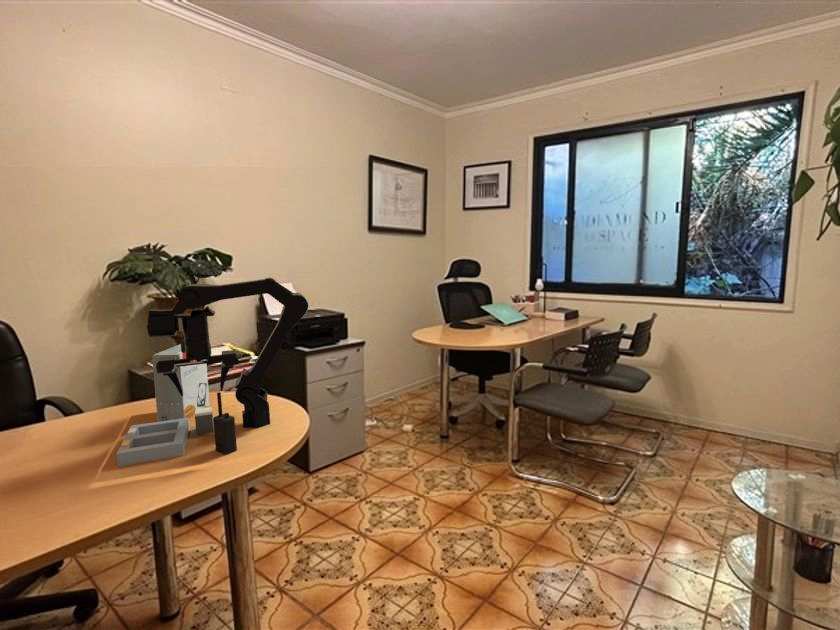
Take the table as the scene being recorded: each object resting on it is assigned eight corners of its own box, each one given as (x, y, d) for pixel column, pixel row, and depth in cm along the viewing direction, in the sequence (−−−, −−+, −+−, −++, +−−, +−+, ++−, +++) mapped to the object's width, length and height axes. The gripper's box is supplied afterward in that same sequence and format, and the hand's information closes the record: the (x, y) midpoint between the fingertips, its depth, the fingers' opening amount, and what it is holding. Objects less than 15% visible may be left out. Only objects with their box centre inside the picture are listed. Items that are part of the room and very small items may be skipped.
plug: (213, 426, 123) (212, 406, 122) (213, 431, 120) (211, 411, 119) (197, 428, 122) (195, 409, 121) (196, 434, 118) (194, 414, 117)
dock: (189, 431, 122) (188, 416, 121) (184, 459, 107) (182, 441, 106) (132, 440, 117) (131, 424, 116) (118, 470, 102) (116, 451, 101)
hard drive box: (184, 425, 126) (178, 355, 123) (157, 425, 126) (149, 355, 123) (210, 405, 142) (205, 342, 139) (186, 405, 142) (180, 342, 139)
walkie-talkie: (238, 453, 109) (233, 393, 107) (225, 459, 106) (220, 397, 104) (226, 449, 112) (221, 389, 109) (213, 454, 109) (208, 393, 106)
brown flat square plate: (220, 426, 126) (220, 422, 126) (219, 437, 118) (219, 433, 118) (191, 430, 123) (191, 426, 123) (189, 442, 116) (189, 438, 116)
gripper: (235, 325, 127) (239, 379, 130) (158, 331, 120) (165, 389, 123) (236, 332, 117) (241, 391, 120) (152, 340, 110) (159, 402, 113)
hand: (202, 393), depth 119 cm, fingers open, 9 cm apart
